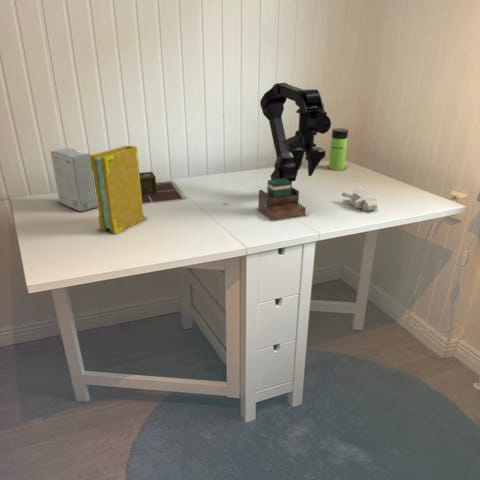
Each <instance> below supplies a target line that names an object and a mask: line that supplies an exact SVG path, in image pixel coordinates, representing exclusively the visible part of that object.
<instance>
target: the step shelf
mask: <svg viewBox="0 0 480 480" xmlns="http://www.w3.org/2000/svg"><path fill="white" fill-rule="evenodd" d="M299 199H300V190H298V189H296V188H294V187H293V186H292V187H291V192H290V195H289V196H282V197H274V198H273V197H272V196H270V195H269V194H267V192H266V191H264V190H262V189H258V211H260V212H261V213H262V214H264V215H265V216H266V217H268V218H270V220H272V221H280V220H285V219H291V218H299V217H305V216H306V210H307V209H306V207H305V206H304V205H302V204H300V202H299Z"/></svg>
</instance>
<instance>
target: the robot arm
mask: <svg viewBox="0 0 480 480" xmlns="http://www.w3.org/2000/svg"><path fill="white" fill-rule="evenodd" d="M287 100H291V101H293V102H294V105H295V106H297V107H298V108H297V110H296V114H298V115H299V116H298V130H295V133H294V135H293V136H291V137H288V138H287V136H286V132H285V128H284V123H283V118H282V116H283V113H284V110H285V107H284V106H285V104H286V102H287ZM259 105H260V108H261V110H262V114H263V116H264V117H265V118H266V119H267V120H268V123H269V127H270V131H271V136H272V140H273V141H272V142H273V147H274V151H275V155H276V159H275V162H274V170H273V171H272V173H271V174H270V180H275V179H283V178H285V179H287V180H289V181H290V182H291V187H293V182H295V181H296V179H297V176H298V172H299V170H300V169H301V166H302V162H303V159H305V160H306V161H307V175H308V176H309V177H312V176H313V174H314V172H315V171H316V169H317V167H318V165H319V164H320V162H321V161H322V160H323V159H325V158H326V150H325V149H324V148H321V147H320V146H317V144H316V143H315V136H317V135H318V133H319V134H321V135H322V134H323V135H324V134H326V133H328V132H329V131H330V129H331V125H332V122H331V121H332V120H331V119H330V117H329V116H328V112H327V111H326V110H325V105H324V102H323V100H322V96H321V93H320V91H319V90H318V88H317V89H316V88H307V89H303V88H300V87H296V86H295V85H291V84H288V83H286V82H277V83H274V84H273V85H272V87H271V88H270V89H269V90H267V91H266V92H265V93H264V94H263V95H262V97H261V99H260V102H259ZM291 154H292V155H291ZM304 156H305V157H304Z"/></svg>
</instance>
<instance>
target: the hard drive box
mask: <svg viewBox="0 0 480 480" xmlns="http://www.w3.org/2000/svg"><path fill="white" fill-rule="evenodd" d="M90 155H91V153H89V152H85V151H81V150H77V149H74V148H70V147H65V148H58V149H54V150H53V149H52V150H50V157H51V162H52V168H53V173H54V178H55V183H56V184H55V185H56V189H57V195H58V199H59V203H60V204H62V205H64V206H67V207H68V208H72V209H73V210H75V211H78V212H85V211H87V210H91V209H95V208H98V202H97V196H96V189H95V182H94V175H93V171H92V168H91V162H90Z"/></svg>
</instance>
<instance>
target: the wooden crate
mask: <svg viewBox="0 0 480 480" xmlns="http://www.w3.org/2000/svg"><path fill="white" fill-rule="evenodd" d="M139 175H140V184H141V194H142V197H144V196H154V195H157V194H158V189H157V183H158V182H157V179H156V177H157V176H156V175H155V174H154V172H153V171H146V172H139Z"/></svg>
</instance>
